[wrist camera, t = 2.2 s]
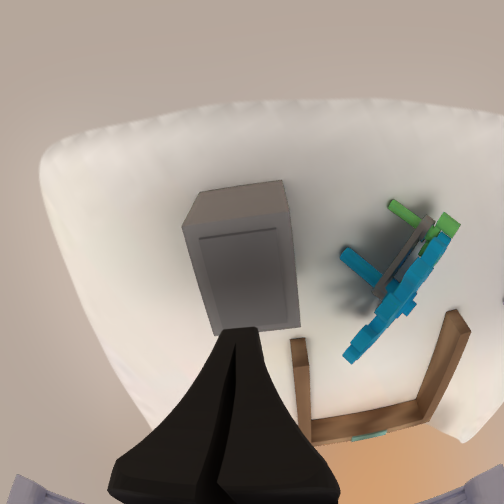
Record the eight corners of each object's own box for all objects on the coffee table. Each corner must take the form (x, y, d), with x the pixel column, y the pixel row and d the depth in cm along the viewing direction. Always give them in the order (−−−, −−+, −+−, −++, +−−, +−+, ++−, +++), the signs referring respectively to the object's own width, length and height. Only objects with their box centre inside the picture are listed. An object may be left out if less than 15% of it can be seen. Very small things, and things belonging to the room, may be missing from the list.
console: (281, 180, 18) (289, 213, 14) (293, 278, 22) (301, 330, 17) (195, 193, 19) (175, 229, 14) (218, 286, 22) (209, 339, 17)
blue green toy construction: (377, 349, 23) (338, 391, 15) (327, 303, 26) (264, 318, 18) (462, 239, 20) (476, 218, 11) (404, 195, 23) (379, 152, 14)
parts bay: (456, 309, 23) (472, 332, 20) (422, 402, 30) (429, 422, 28) (290, 339, 25) (293, 369, 22) (298, 426, 32) (300, 449, 29)
